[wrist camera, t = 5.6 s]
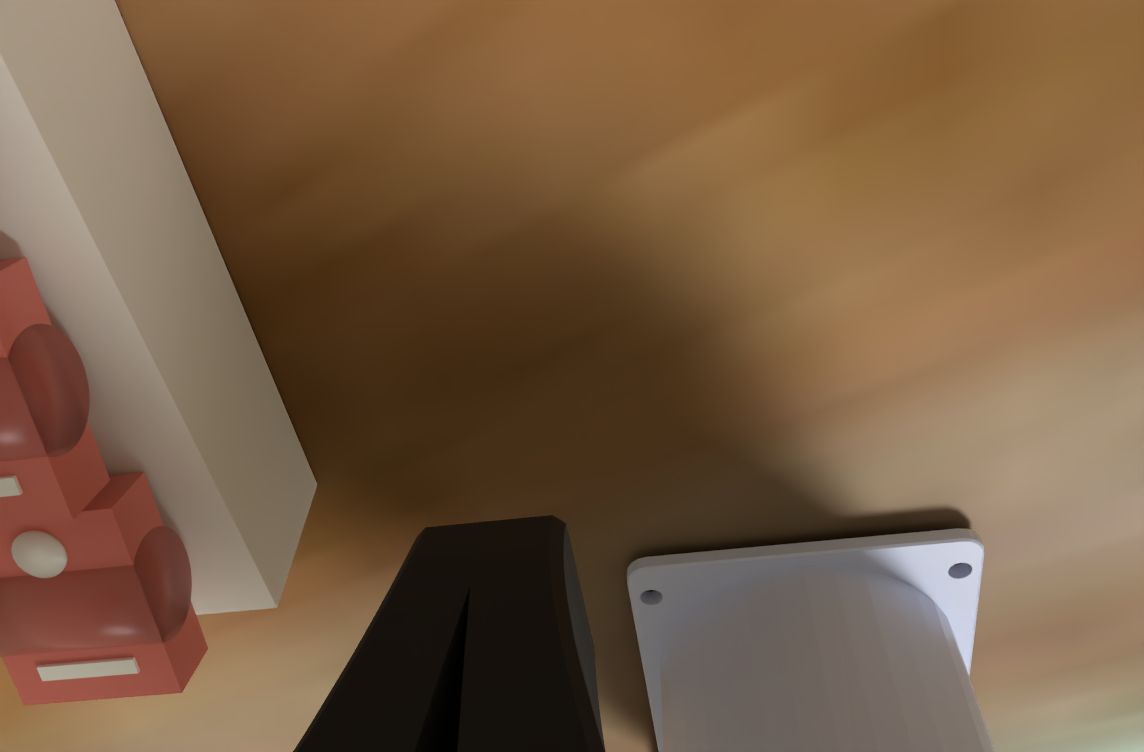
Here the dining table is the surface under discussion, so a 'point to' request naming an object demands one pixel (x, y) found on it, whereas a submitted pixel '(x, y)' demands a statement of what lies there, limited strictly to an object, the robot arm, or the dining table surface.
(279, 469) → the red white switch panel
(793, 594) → the robot arm
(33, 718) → the dining table surface
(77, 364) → the red stepped block
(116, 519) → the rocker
